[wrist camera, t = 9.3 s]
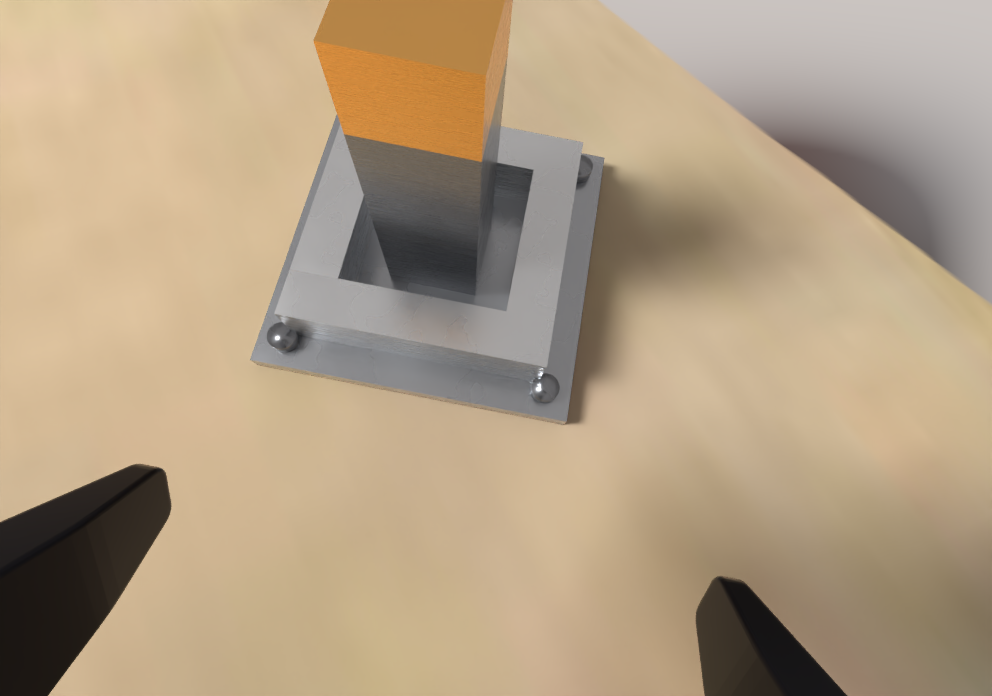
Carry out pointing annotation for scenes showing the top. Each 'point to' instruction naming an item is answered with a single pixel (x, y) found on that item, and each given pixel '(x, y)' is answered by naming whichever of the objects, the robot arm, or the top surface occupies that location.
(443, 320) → the metal post socket
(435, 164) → the orange and grey post
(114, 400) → the top surface
